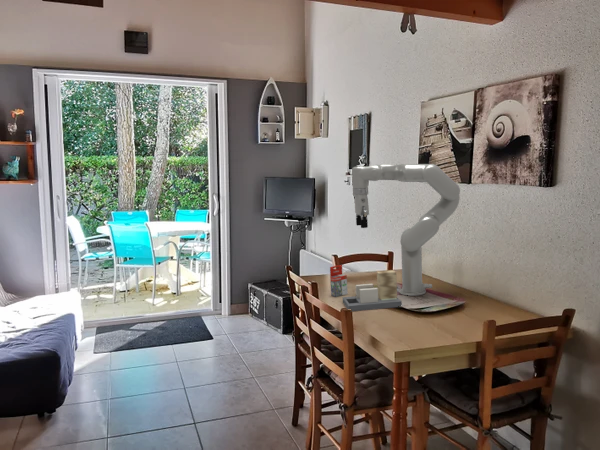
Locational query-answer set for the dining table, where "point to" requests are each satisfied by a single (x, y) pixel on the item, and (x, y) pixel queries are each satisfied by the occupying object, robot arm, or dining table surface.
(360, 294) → the pale grey u-shaped piece
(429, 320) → the dining table surface
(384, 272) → the block
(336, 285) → the ink box
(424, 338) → the dining table surface
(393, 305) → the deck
